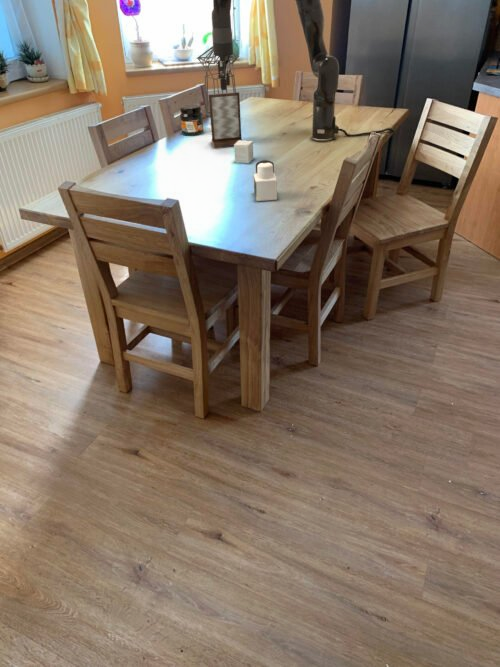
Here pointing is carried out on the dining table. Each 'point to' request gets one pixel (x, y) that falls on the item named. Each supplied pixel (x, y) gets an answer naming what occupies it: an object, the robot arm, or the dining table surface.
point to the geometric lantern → (216, 73)
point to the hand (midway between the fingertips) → (225, 87)
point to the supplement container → (191, 119)
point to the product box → (243, 151)
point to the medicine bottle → (265, 181)
